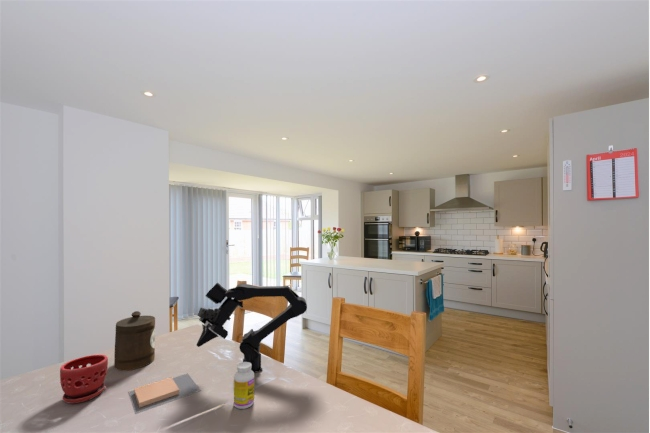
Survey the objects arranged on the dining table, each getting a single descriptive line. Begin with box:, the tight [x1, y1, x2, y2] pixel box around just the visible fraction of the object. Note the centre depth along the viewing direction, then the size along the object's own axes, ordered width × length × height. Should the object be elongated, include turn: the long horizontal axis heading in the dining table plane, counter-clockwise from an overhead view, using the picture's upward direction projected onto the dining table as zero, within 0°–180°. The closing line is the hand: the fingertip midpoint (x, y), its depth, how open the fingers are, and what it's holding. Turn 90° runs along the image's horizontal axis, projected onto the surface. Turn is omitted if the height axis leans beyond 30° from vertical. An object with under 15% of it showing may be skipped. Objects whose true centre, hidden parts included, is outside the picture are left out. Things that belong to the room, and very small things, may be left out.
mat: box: [128, 373, 202, 415], centre depth 106 cm, size 20×16×1 cm
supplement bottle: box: [233, 361, 255, 410], centre depth 100 cm, size 7×7×13 cm
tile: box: [133, 376, 179, 408], centre depth 104 cm, size 2×11×12 cm
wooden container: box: [113, 310, 156, 371], centre depth 129 cm, size 15×15×22 cm
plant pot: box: [59, 354, 109, 404], centre depth 104 cm, size 13×13×12 cm
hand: (197, 346), depth 113 cm, fingers closed
